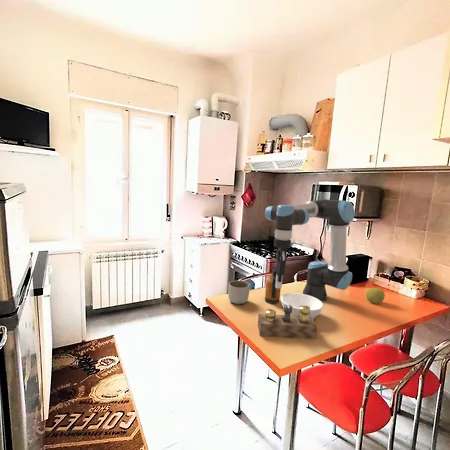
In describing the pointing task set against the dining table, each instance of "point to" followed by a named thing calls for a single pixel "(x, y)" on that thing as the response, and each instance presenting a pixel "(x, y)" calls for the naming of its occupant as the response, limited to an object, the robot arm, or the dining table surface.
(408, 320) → the dining table surface
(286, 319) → the pot knob
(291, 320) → the mount
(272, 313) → the knob
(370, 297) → the fruit
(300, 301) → the bowl
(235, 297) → the planter
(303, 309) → the knob
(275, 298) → the canister
